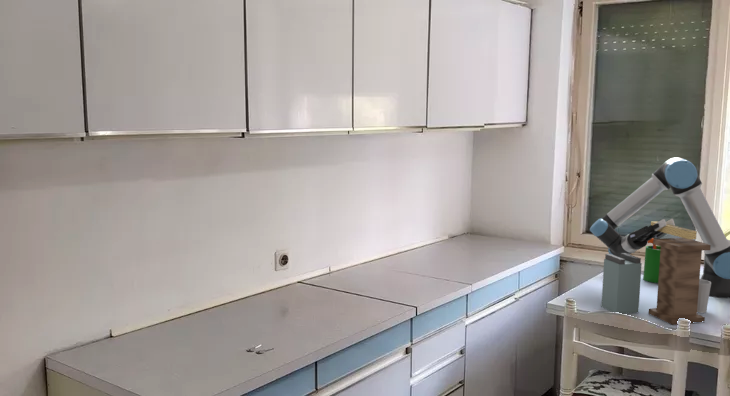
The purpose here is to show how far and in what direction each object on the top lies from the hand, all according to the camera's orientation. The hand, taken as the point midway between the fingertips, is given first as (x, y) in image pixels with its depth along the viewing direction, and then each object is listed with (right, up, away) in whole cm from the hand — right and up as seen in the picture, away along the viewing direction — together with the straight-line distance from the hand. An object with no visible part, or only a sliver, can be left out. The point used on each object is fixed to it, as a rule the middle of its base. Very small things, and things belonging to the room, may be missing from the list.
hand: (669, 222), depth 253 cm
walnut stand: (+2, -37, -2) cm, 37 cm away
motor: (+18, -30, +53) cm, 63 cm away
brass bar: (+1, -4, -2) cm, 5 cm away
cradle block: (-16, -36, +8) cm, 40 cm away
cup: (+15, -36, +7) cm, 40 cm away
